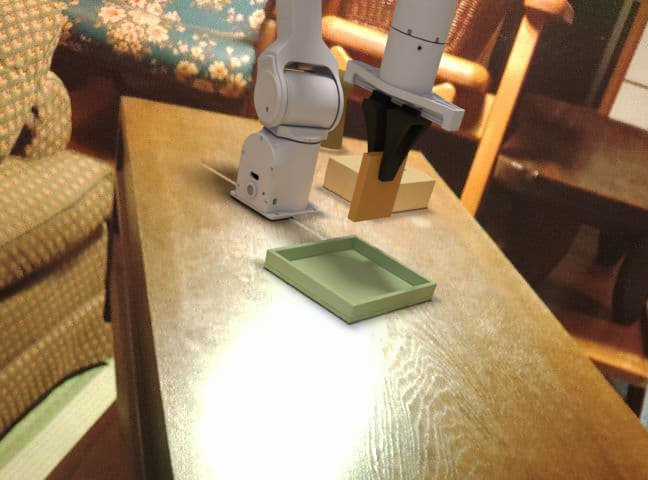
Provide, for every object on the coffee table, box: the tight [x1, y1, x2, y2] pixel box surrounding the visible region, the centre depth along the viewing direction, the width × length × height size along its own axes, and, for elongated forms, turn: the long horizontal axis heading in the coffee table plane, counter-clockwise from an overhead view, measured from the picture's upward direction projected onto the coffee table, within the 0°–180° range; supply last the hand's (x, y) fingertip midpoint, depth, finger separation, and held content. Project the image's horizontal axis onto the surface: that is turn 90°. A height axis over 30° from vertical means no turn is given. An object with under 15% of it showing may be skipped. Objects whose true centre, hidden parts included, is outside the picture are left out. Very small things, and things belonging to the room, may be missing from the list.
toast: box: [347, 151, 409, 223], centre depth 83 cm, size 7×1×7 cm, turn 139°
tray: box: [263, 234, 438, 324], centre depth 84 cm, size 15×13×2 cm
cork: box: [320, 68, 355, 150], centre depth 119 cm, size 6×6×11 cm
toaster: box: [322, 154, 437, 214], centre depth 108 cm, size 14×10×4 cm
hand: (380, 177), depth 82 cm, fingers closed on toast, 1 cm apart
